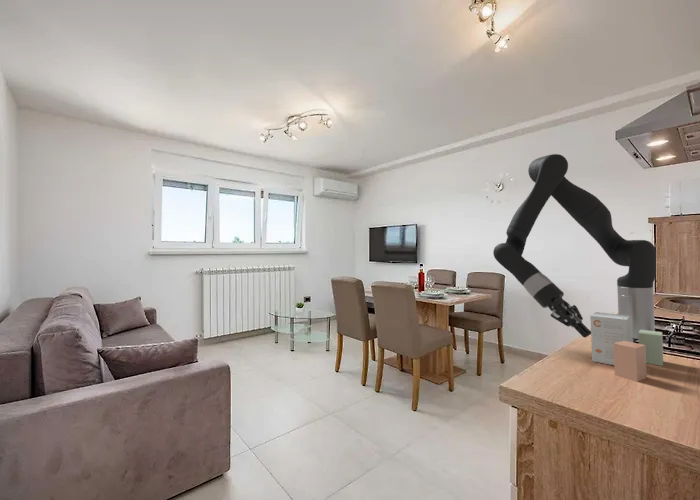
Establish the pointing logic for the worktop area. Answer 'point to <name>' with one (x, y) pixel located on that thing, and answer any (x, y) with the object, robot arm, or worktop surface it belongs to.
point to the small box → (608, 335)
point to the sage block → (652, 346)
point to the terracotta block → (630, 360)
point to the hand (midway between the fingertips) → (588, 335)
